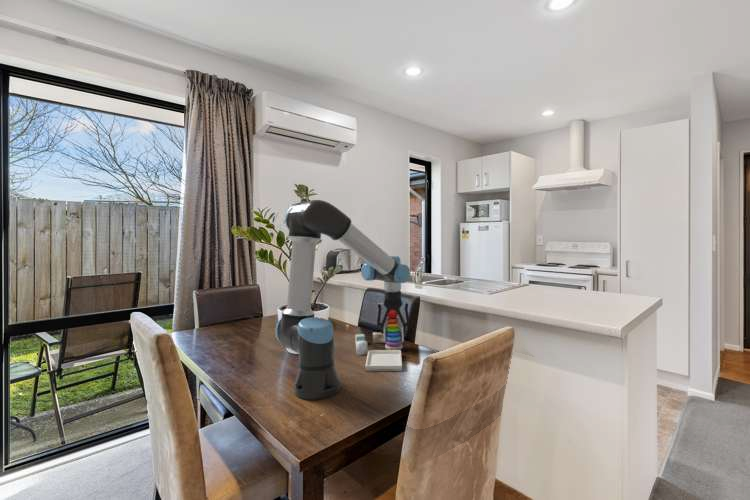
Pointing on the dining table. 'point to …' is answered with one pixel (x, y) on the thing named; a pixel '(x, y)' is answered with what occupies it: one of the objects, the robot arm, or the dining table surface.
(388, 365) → the cream tray
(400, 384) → the dining table surface
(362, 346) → the light grey cube
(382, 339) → the birch brick
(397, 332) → the stacking toy
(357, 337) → the teal cube
